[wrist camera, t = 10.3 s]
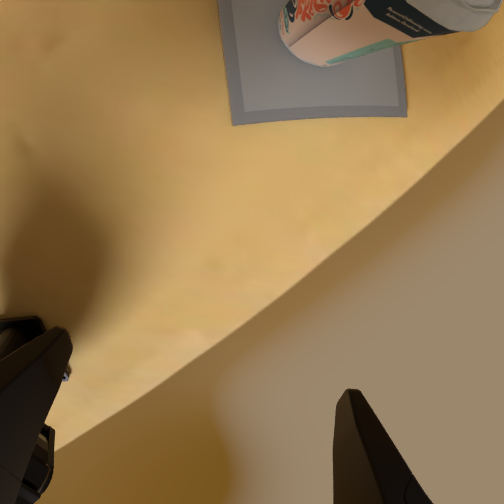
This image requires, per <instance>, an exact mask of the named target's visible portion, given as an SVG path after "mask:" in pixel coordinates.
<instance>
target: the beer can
mask: <svg viewBox="0 0 504 504" xmlns="http://www.w3.org/2000/svg"><path fill="white" fill-rule="evenodd" d="M502 1H503V0H289V1H287V2H286V3H285V4H284V6H283V7H282V9H281V11H280V13H279V16H278V30H279V34H280V37H281V39H282V41H283V43H284V44H285V46H286V47H287V48H288V50H289V51H290V52H291V53H292V54H293V55H295V56H296V57H297V58H299V59H300V60H302V61H304V62H306V63H309V64H311V65H315V66H320V67H330V66H335V65H339V64H341V63H343V62H345V61H348V60H351V59H354V58H357V57H360V56H364V55H367V54H370V53H373V52H377V51H380V50H384V49H387V48H391V47H395V46H398V45H402V44H406V43H410V42H414V41H418V40H422V39H427V38H431V37H436V36H440V35H445V34H450V33H456V32H461V31H464V32H473V31H476V30H478V29H480V28H482V27H484V26H485V25H486V24H487V23H488V22H489V20H490V19H491V17H492V16H493V14H494V13H495V12H498V10H499V8H500V6H501V3H502Z"/></svg>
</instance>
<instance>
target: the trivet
mask: <svg viewBox="0 0 504 504" xmlns="http://www.w3.org/2000/svg"><path fill="white" fill-rule="evenodd" d="M287 1H289V0H217V6H218V14H219V23H220V31H221V39H222V48H223V56H224V64H225V72H226V81H227V89H228V97H229V105H230V113H231V122H232V126H236V125H245V124H253V123H263V122H273V121H285V120H298V119H315V118H337V117H407V103H406V90H405V79H404V69H403V61H402V53H401V45H398V46H395V47H391V48H387V49H384V50H380V51H377V52H373V53H370V54H367V55H364V56H360V57H357V58H354V59H351V60H348V61H345V62H343V63H341V64H339V65H335V66H330V67H320V66H315V65H311V64H309V63H306V62H304V61H302V60H300V59H299V58H297V57H296V56H295V55H293V54H292V53H291V52H290V51H289V50H288V48H287V47H286V46H285V44H284V43H283V41H282V39H281V37H280V34H279V30H278V16H279V13H280V11H281V9H282V7H283V6H284V4H285V3H286V2H287Z"/></svg>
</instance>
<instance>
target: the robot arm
mask: <svg viewBox="0 0 504 504" xmlns="http://www.w3.org/2000/svg"><path fill="white" fill-rule="evenodd" d="M35 322H36V323H37V324H36V323H35ZM72 350H73V345H72V342H71V339H70V336H69V332H68V330H67V329H65V328H62V327H59V326H56V327H53V328H52V329H50V330H49V331H46V329H45V327H44V325H43V323H42V321H41V320H40V318H38V317H37V316H31V317H21V318H11V319H0V504H34V503H35V502H36V501H37V500H38V499H39V498H40V496H41V494H42V493H43V492H44V491H45V490H46V489H47V487H48V485H49V483H50V481H51V479H52V475H53V469H54V441H55V430H54V429H53V428H52V427H50V426H48V425H46V424H45V423H44V422H45V420H46V417H47V415H48V413H49V410H50V408H51V406H52V404H53V401H54V399H55V397H56V395H57V393H58V390H59V388H60V385H61V382H62V381H68V379H69V376H70V375H69V373H68V371H67V369H66V368H67V365H68V362H69V359H70V356H71V354H72ZM333 494H334V495H333V500H334V501H333V504H433V503H432V501H431V500H430V499H429V498H428V496H427V495H426V494H425V492H424V490H423V489H422V487H421V486H420V484H419V483H418V481H417V480H416V478H415V477H414V475H413V474H412V472H411V470H410V469H409V467H408V465H407V464H406V462H405V461H404V459H403V458H402V456H401V454H400V453H399V451H398V449H397V448H396V446H395V445H394V443H393V441H392V440H391V438H390V437H389V435H388V433H387V432H386V430H385V429H384V427H383V426H382V424H381V423H380V421H379V419H378V418H377V416H376V415H375V413H374V412H373V410H372V408H371V407H370V405H369V404H368V402H367V400H366V399H365V397H364V396H363V394H362V393H361V391H360V390H358V389H346V390H345V392H344V393H343V395H342V396H341V398H340V399H339V401H338V403H337V406H336V416H335V427H334V439H333Z"/></svg>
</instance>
